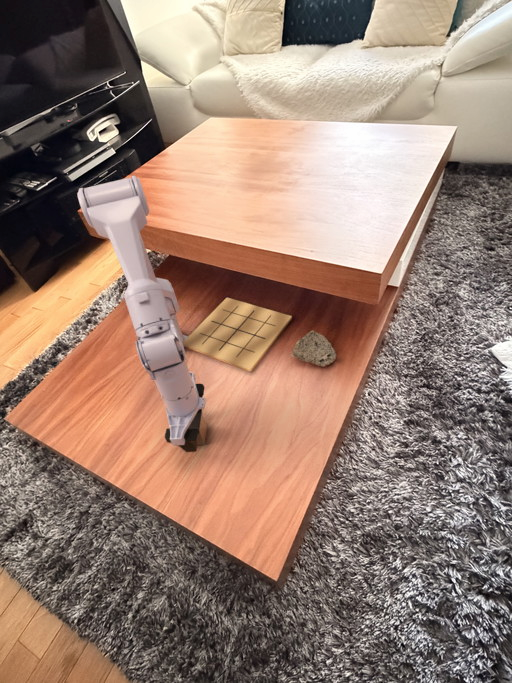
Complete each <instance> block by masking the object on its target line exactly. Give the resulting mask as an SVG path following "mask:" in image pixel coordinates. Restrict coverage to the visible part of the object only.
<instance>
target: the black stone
mask: <svg viewBox="0 0 512 683" xmlns="http://www.w3.org/2000/svg"><path fill="white" fill-rule="evenodd" d="M188 428H189V429H198V435H197V439H196V441H197V446H205V445H206V439H207V438H206V437H207V431H208V430H207V429H208V427H207V424H206V420H205V418H204V415H203V412H202V413H196V415H195V417H194V418H193V420H192V422H191V424H190V425H189V427H188Z"/></svg>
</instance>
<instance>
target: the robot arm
mask: <svg viewBox="0 0 512 683" xmlns="http://www.w3.org/2000/svg"><path fill="white" fill-rule="evenodd" d="M77 191H78V192H77V193H76V194H77V199H78V202H79V206H80V209H81V211H82V214H83V216H84V218H85V221H86V222H87V224H88V225H89V227H90V228H92V229H94V230H95V232H96V233H97V235H98V236H100V237H102V238H105V239H109V241H110V243H111V246H112V248H113V251H114V253H115V256H116V258H117V260H118V263H119V265H120V267H121V269H122V272H123V275H124V277H125V279H126V282H127V284H128V285H127V287H126V289H125V292H124V294H123V298H124V302H125V304H126V307H127V311H128V314H129V316H130V320H131V323H132V327H133V329H134V332H135V335H136V340H135V348H136V352H137V356H138V358H139V361H140V363H141V365H142V367H143V368H144V371H145V372H146V373H147V374H148V375H149V378H150V380H153V381H154V384H155V386H156V389H157V390H158V393H159V395H160V397H161V399H162V401H163V404H164V407H165V413H166V417H167V422H168V426H169V427H168V428H166V429H165V433H164V439H165V441H166V443H168V444H171V445H172V446H178V447H179V448H181V449H182V450H183V451H184V452H185V453H196V452H198V445H197V441H196V439H197V435H198V429H189V428H188V427H189V425H190V424H191V422H192V420H193V418H194V417H195V415H196V413H202V414H203V410H204V409H205V408H206V404H207V399H206V398H205V397H204V394H205V384H203V383H196V379H197V378H196V376H195V372H192V371H190V369H189V367H188V364H187V362H186V360H187V352H186V351H185V350H186V349H185V348H186V347H185V346H184V345H183V342H184V340H185V339H186V338H187V337H188V336H189V335H186V334H183V333H182V330H181V327H180V324H179V321H178V317H177V314H179V313H180V311H181V309H180V305H179V303H178V300H177V297H176V294H175V290H174V288H173V286H172V283H171V282H170V281H169V280H168V279H165V278H161V277H156V274H155V271H154V269H153V266H152V263H151V260H150V257H149V255H148V252H147V249H146V246H145V243H144V240H143V237H142V235H141V231H142V230H143V229H144V228H145V227H146V225H148V218H147V217H148V216H149V213H150V208H149V205H148V200H147V198H146V194H145V192H144V189H143V185H142V182H141V180H140V178H139V177H137V176H136V175H131V177H126V178H122V179H118V180H114V181H108V182H105V183H100V184H96V185H91V186H89V187H79V188H78V190H77Z"/></svg>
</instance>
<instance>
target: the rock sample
mask: <svg viewBox="0 0 512 683" xmlns="http://www.w3.org/2000/svg"><path fill="white" fill-rule="evenodd" d="M291 352H292V353H291V357H295V358H296V359H298V360H299V361H302V362H305V363H311V364H312V366H313V365H315V366H319V367H323V368H325V367H326V366H329V365H331V364H333V363H334V362H335V361H336V358H337V352H336V350H335V349H334V347H332V343H331V342H329V340H328V339H327V338H326V336H324V335H322V334H321V333H318V332H317V331H315V330H310V331H309V332H308V333H306V334H305V335H304V336H302V338H299V339H298V340H297V341H296V342H295V344H294V346H293V349H292V350H291Z"/></svg>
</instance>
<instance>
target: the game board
mask: <svg viewBox="0 0 512 683" xmlns="http://www.w3.org/2000/svg"><path fill="white" fill-rule="evenodd" d="M292 319H293V316H292V315H290V314H287V313H283V312H280V311H275V310H273V309H268V308H265V307H262V306H258V305H254V304H251V303H248V302H245V301H241V300H238V299H234V298H230V297H226V298H225V299H224V300H223V301H222V302H220V303H219V305H218V306H216V308H215V309H214V310H212V312H211V313H210V314H209V315H208V316H207V317H206V318H205V319H203V321H202V322H201V323H200V324H199V325H198V326H197V327H196V328H195V329H194V330H193V331H192V332H191V333H190V334H189V335H187V336H188V337H187V338H186V339H185V340H184V342H183V345H184V346H185V347H184V348H186V349H188V350H191V351H195V352H197V353H200V354H202V355H205V356H208V357H210V358H213V359H215V360H218V361H221V362H224V363H226V364H229V365H231V366H234V367H236V368H239V369H241V370H244V371H246V372H249V373H252V371H253V370H254V369H255V367H256V366H257V365H258V364H259V362H260V361H261V360H262V359H263V357H264V356H265V354H266V353H268V351H269V350H270V348H271V347H272V346H273V344H274V343H275V342H276V340H277V339H278V337H280V335H281V334H282V333H283V331H284V330H285V329H286V327H287V326H288V324H289V323H290V322H291V321H292Z"/></svg>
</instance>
